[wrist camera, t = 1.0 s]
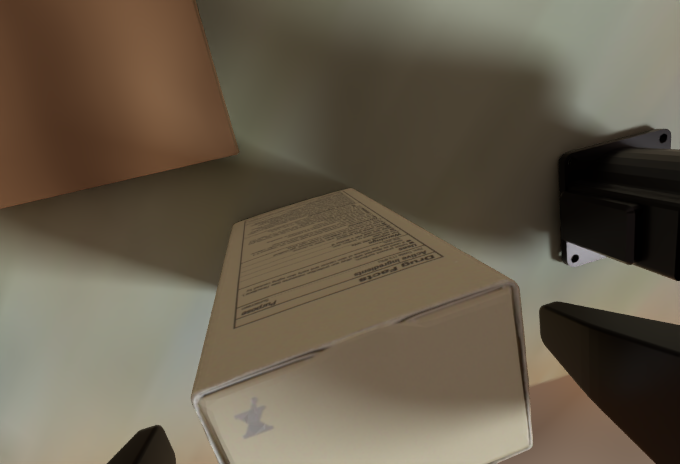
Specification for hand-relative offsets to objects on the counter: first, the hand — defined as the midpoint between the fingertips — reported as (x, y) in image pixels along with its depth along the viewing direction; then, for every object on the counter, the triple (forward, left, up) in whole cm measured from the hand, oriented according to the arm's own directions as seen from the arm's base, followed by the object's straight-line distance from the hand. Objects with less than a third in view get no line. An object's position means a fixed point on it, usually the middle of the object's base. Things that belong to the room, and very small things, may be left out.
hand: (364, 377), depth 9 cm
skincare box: (0, 0, -11) cm, 11 cm away
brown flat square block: (+7, -10, -11) cm, 17 cm away
